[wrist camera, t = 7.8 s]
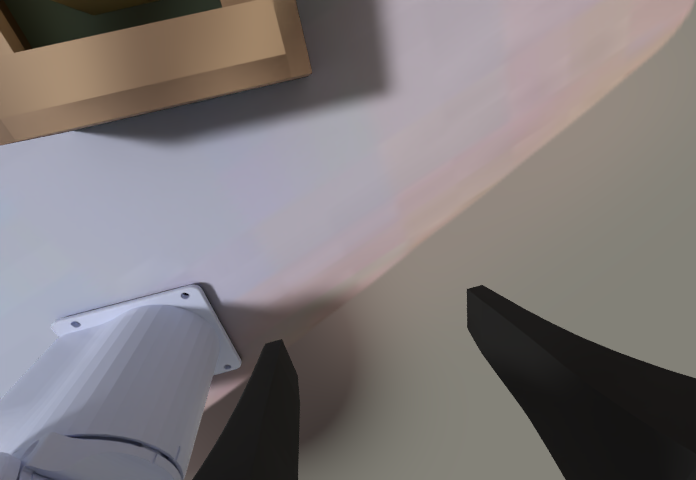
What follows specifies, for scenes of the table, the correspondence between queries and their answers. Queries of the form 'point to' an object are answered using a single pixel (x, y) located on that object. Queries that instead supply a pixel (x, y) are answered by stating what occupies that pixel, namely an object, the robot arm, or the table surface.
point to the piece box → (137, 59)
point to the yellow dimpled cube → (101, 5)
